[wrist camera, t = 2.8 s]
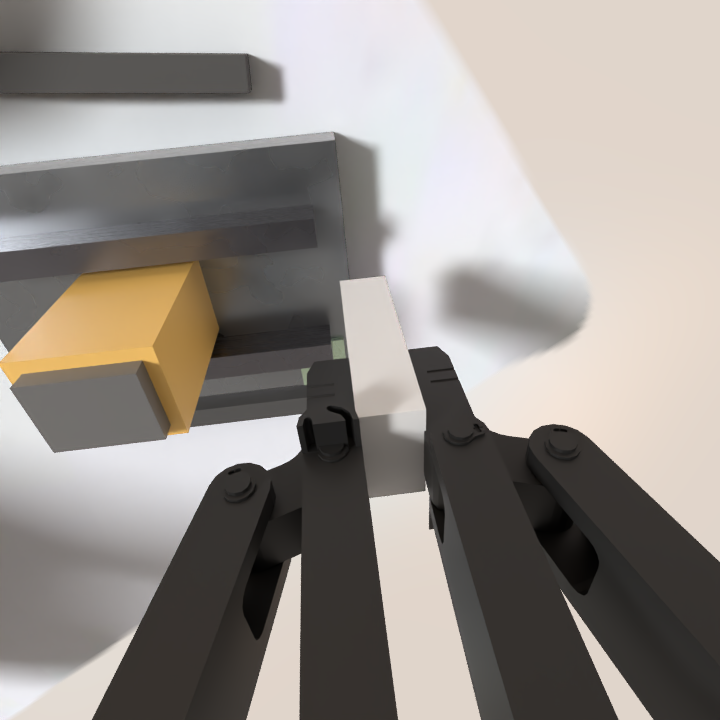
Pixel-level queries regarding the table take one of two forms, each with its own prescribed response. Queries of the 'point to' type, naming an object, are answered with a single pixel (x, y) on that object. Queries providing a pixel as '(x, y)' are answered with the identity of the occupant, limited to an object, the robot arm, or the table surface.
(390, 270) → the table surface
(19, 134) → the table surface
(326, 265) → the panel
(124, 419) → the toggle
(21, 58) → the bar
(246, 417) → the dark grey long bar
